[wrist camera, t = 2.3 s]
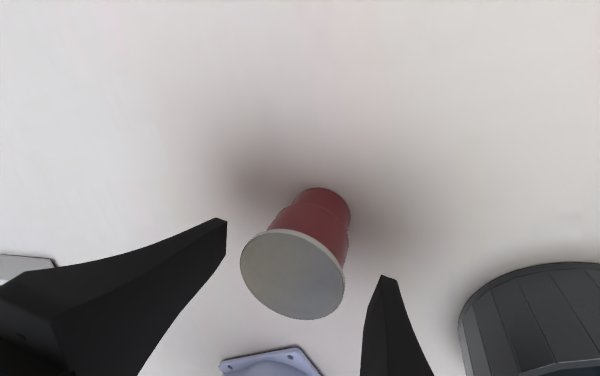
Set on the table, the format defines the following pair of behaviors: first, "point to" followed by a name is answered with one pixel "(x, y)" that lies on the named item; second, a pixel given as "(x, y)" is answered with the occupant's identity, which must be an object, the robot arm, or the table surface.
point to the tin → (534, 323)
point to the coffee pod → (300, 257)
